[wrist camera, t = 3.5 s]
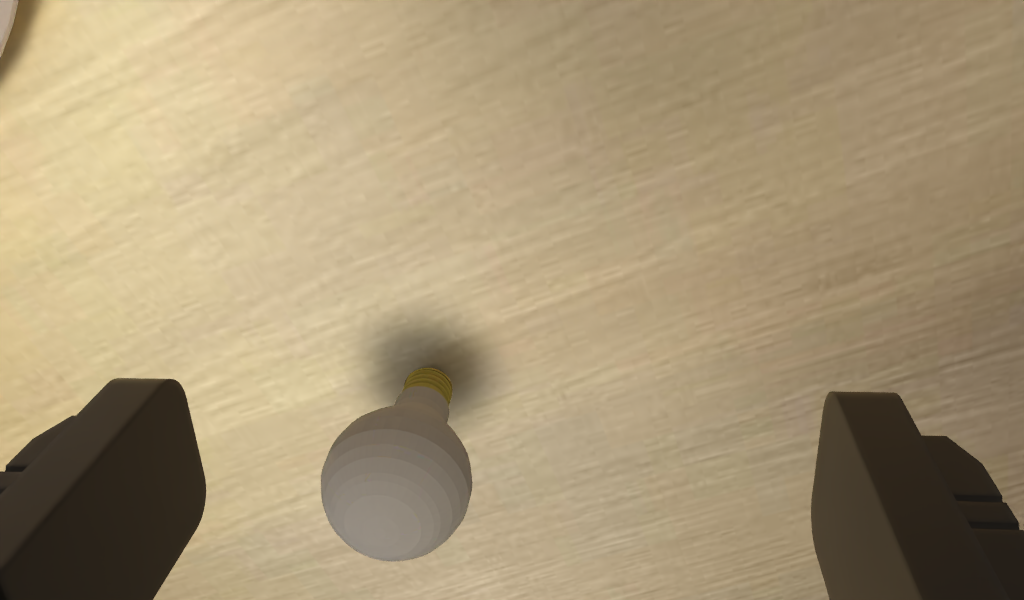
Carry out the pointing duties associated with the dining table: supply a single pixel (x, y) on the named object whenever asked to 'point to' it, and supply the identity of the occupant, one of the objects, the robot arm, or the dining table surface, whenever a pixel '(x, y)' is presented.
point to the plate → (6, 20)
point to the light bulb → (399, 474)
